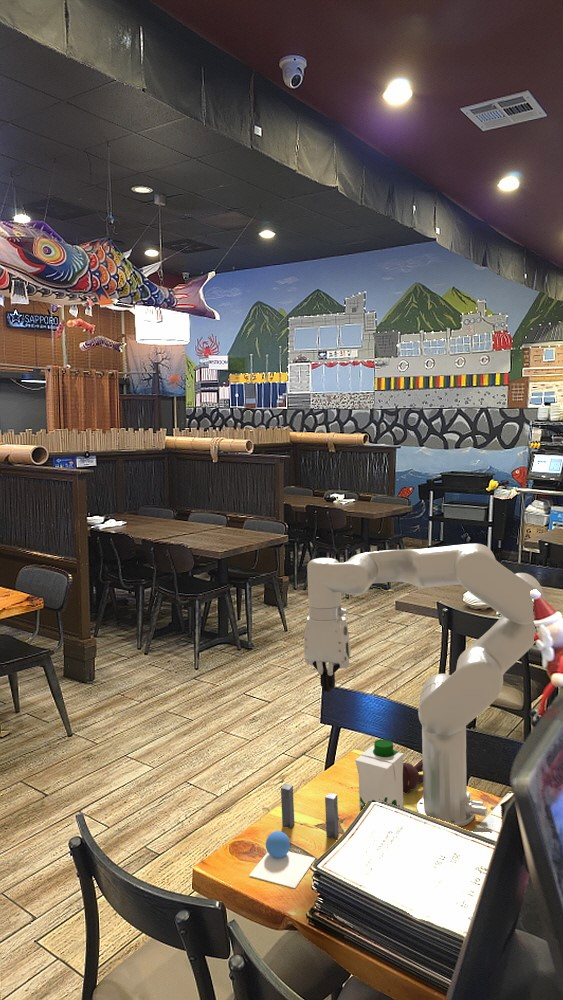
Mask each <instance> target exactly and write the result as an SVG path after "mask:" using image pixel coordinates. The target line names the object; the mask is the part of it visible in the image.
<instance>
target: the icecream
mask: <svg viewBox="0 0 563 1000" xmlns="http://www.w3.org/2000/svg"><path fill="white" fill-rule="evenodd" d="M421 773H422V774H421ZM420 783H423V760H422V761H419V762H417V764H416V765H415V766H414V765H413V764H412V763H409V762H403V794H406V795H407V794H408V793H409V792H410V791H413V790H415V789H416V787H417V786H418V784H420Z"/></svg>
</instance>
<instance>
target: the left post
mask: <svg viewBox="0 0 563 1000" xmlns="http://www.w3.org/2000/svg"><path fill="white" fill-rule="evenodd" d="M280 796H281V797H280V800H281V804H280V805H281V822H282V825H281V826H282V828H286V829H292V828H293V826H294V825H295V804H294V785H293V784H287V783H284V784H283V785H282V786H281V787H280Z"/></svg>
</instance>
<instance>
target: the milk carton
mask: <svg viewBox="0 0 563 1000" xmlns="http://www.w3.org/2000/svg"><path fill="white" fill-rule="evenodd" d="M373 743H374V744H373V745H371V746H370V747H369V748H367V749H366V750H365V751H364V752H362V753H360V756H358V757H357V758H356V759H355V765H356V770H357V773H358V793H359V794H358V795H359V796H358V797H359V801H358V802H359V812H360V811H361V810H362V809H363V807H364V806H365V804H366V803H367V802H368V801H372V802H382V800H383V801H385V802H388V803H392V804H394V805H396V806H399V807H402V808H403V809H404V793H403V763H404V756H405V754H404V753H402V752H399V751H397V750H394V743H393V741H392V740H390V739H384V738H383V739H382V738H381V739H377V740H375V741H374V742H373ZM379 799H380V800H379Z"/></svg>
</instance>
